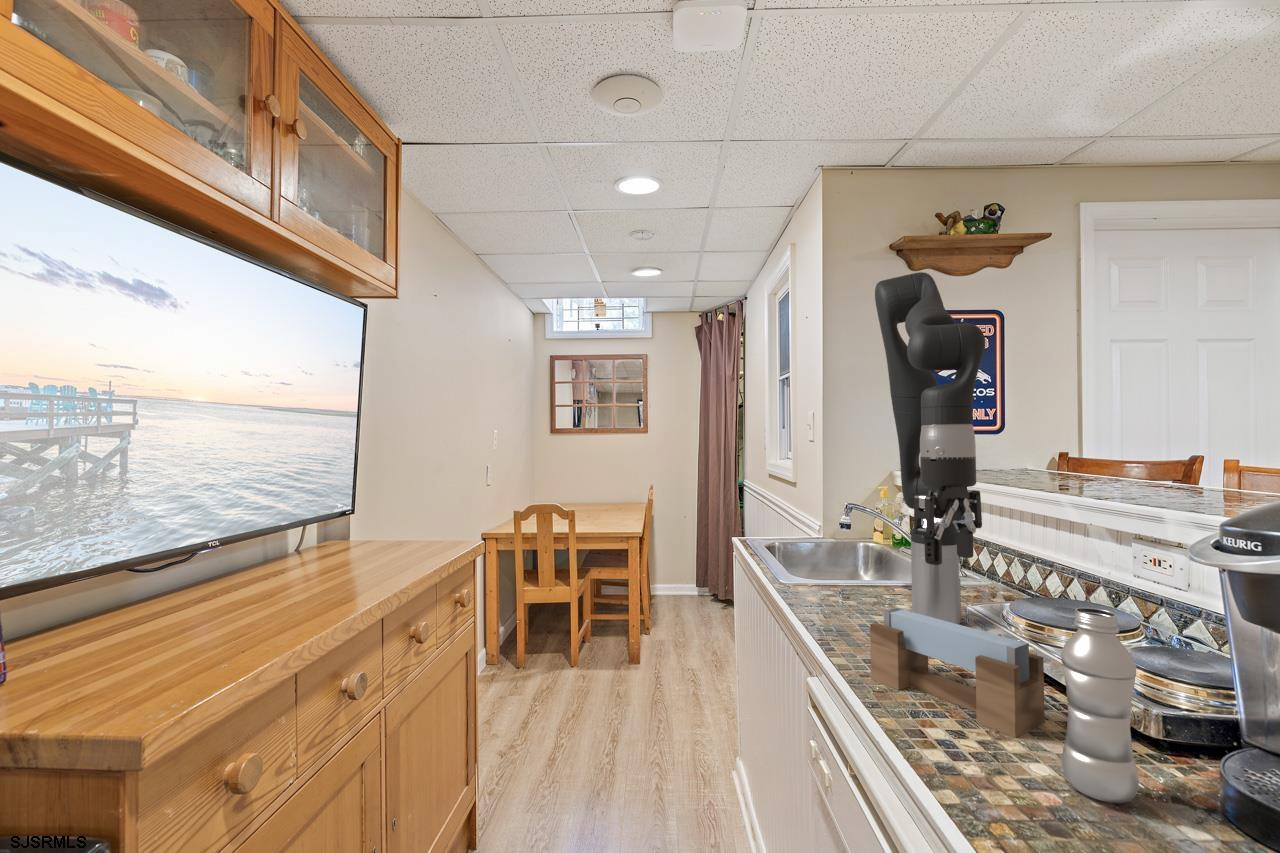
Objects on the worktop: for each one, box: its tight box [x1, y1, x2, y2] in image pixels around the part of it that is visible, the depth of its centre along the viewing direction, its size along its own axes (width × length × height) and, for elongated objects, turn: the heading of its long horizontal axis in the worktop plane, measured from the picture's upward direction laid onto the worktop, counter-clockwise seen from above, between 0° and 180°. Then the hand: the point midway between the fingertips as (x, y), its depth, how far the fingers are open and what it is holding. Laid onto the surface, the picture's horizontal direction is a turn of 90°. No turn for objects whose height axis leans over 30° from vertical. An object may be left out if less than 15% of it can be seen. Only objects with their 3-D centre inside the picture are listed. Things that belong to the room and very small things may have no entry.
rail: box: [883, 607, 1030, 683], centre depth 87 cm, size 4×20×5 cm, turn 31°
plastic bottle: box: [1060, 607, 1140, 805], centre depth 64 cm, size 6×7×20 cm
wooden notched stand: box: [869, 622, 1046, 739], centre depth 87 cm, size 8×22×9 cm, turn 31°
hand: (949, 560), depth 87 cm, fingers open, 8 cm apart
